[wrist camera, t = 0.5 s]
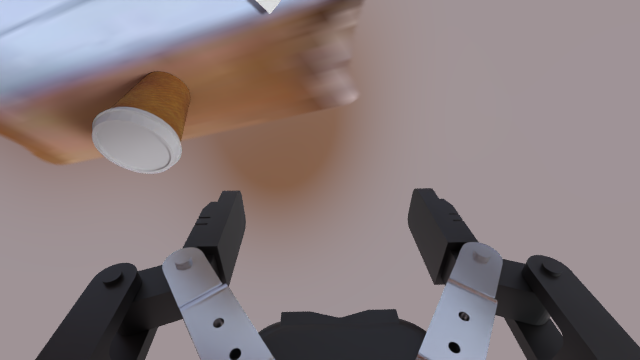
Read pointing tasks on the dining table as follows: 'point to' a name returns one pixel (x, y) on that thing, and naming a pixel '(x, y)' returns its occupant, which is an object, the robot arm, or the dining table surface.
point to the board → (268, 4)
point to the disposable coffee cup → (145, 125)
